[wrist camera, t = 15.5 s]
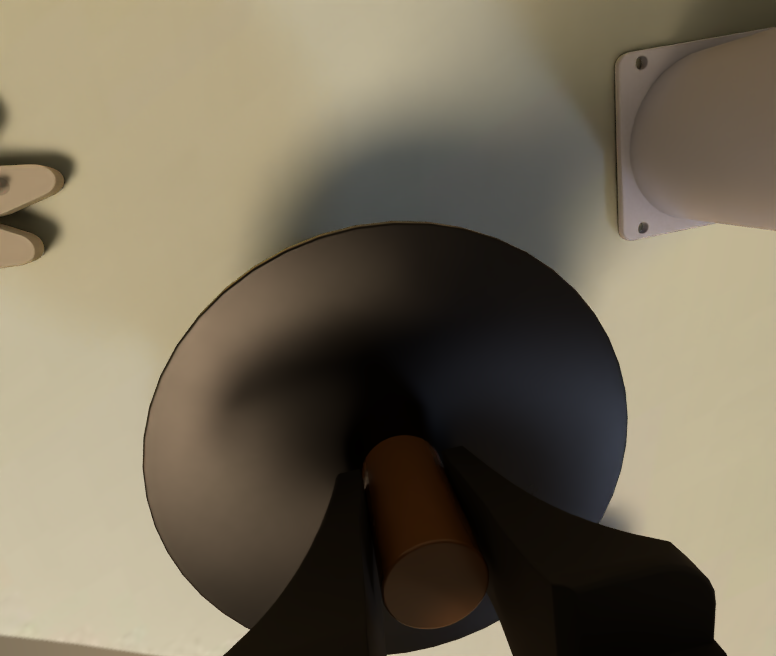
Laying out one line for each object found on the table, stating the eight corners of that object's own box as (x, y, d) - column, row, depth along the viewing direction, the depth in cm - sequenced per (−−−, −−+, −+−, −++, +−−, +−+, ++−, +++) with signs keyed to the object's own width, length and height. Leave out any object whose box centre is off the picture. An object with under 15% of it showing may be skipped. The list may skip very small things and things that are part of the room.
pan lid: (331, 104, 13) (345, 58, 8) (692, 383, 17) (864, 479, 12) (63, 526, 15) (-68, 714, 10) (437, 679, 19) (485, 869, 14)
